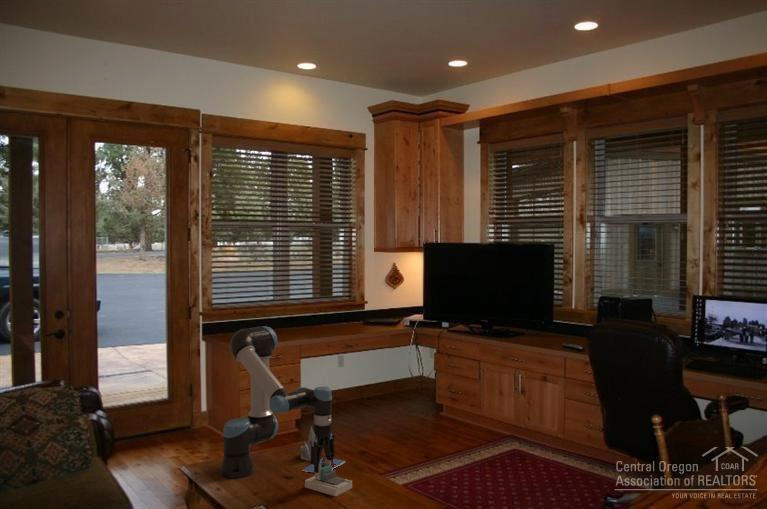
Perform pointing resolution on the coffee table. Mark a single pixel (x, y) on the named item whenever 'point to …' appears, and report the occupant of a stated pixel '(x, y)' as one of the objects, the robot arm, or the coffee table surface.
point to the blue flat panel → (311, 467)
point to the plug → (324, 470)
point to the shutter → (332, 478)
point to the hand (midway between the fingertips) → (322, 477)
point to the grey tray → (328, 486)
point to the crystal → (307, 446)
